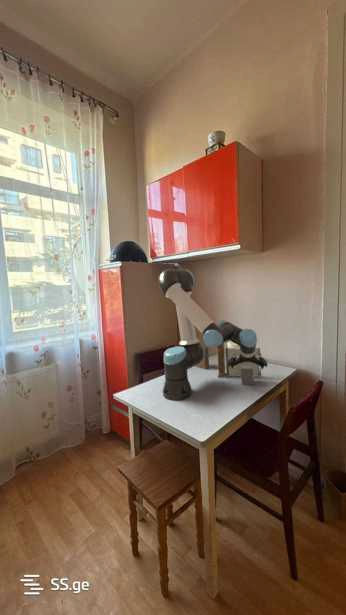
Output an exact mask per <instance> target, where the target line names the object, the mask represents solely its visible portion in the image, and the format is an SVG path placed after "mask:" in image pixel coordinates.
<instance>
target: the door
mask: <svg viewBox="0 0 346 615" xmlns="http://www.w3.org/2000/svg"><path fill="white" fill-rule="evenodd" d="M234 354H236V356H239V355H240V348H228V347H225V370H226V374H227V375H226V376H240V377H241V365H252V367H253V377H261V376H262V372H261V373H259V365H257V364H255V363H252V362H243V363H239V364H237V365H235V372H234V369H233V368H231V366H228V361H229V360H230V359H231V358H232V357H233V355H234ZM259 354H261V348H260V347H256V353H255V355H256V356H258V355H259Z"/></svg>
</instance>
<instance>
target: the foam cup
mask: <svg viewBox="0 0 346 615" xmlns="http://www.w3.org/2000/svg"><path fill="white" fill-rule="evenodd" d="M227 348H240V346H239V345H237V344H235V343H233V342H232V341H227Z"/></svg>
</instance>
